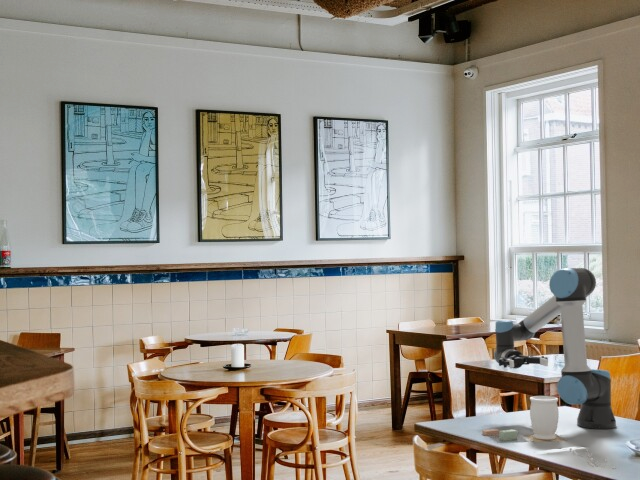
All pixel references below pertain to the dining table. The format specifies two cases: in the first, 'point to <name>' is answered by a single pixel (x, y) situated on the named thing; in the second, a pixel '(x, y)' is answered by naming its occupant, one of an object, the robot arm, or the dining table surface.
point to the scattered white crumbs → (590, 459)
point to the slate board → (519, 439)
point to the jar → (544, 416)
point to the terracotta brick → (490, 432)
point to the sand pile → (544, 440)
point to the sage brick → (508, 434)
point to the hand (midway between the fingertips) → (529, 363)
